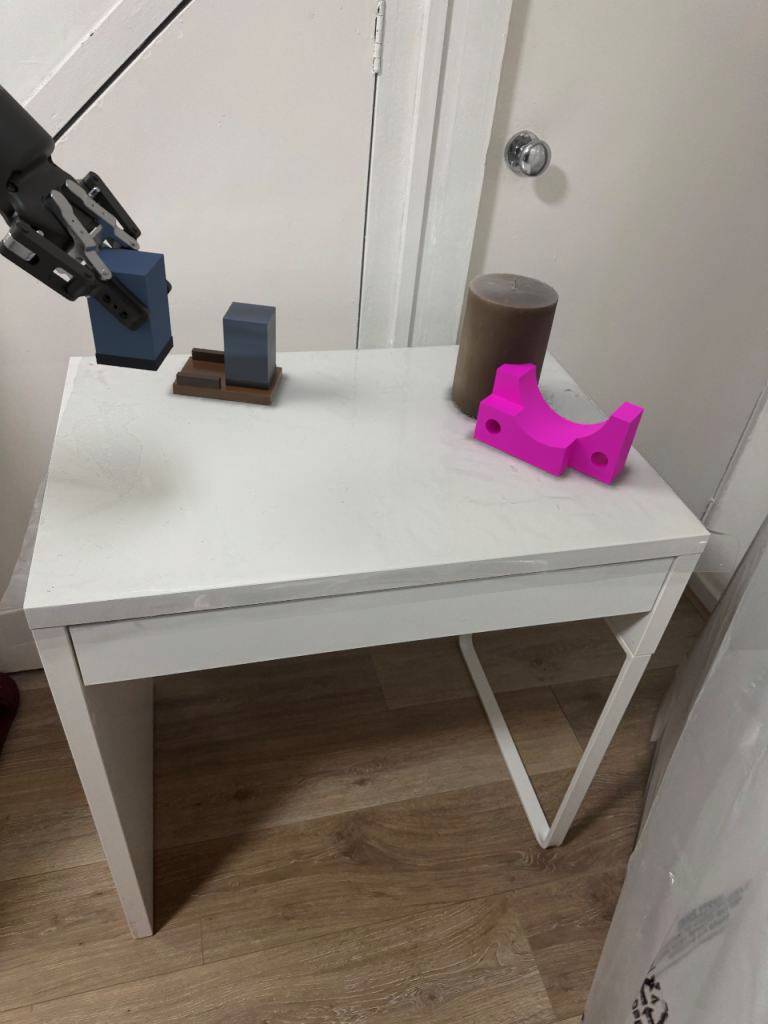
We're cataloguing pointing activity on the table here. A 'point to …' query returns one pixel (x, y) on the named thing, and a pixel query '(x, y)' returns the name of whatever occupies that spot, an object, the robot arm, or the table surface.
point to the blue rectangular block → (150, 287)
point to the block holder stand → (236, 359)
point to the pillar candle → (501, 333)
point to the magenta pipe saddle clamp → (552, 428)
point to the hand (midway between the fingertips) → (153, 308)
